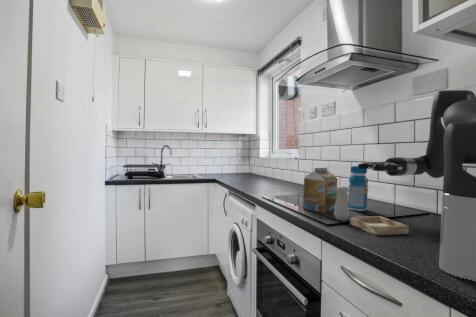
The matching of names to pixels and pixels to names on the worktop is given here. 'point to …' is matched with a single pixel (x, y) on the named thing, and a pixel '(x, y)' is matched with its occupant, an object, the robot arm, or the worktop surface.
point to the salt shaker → (342, 204)
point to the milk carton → (320, 191)
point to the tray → (379, 225)
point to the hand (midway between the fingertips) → (366, 167)
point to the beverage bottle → (357, 189)
